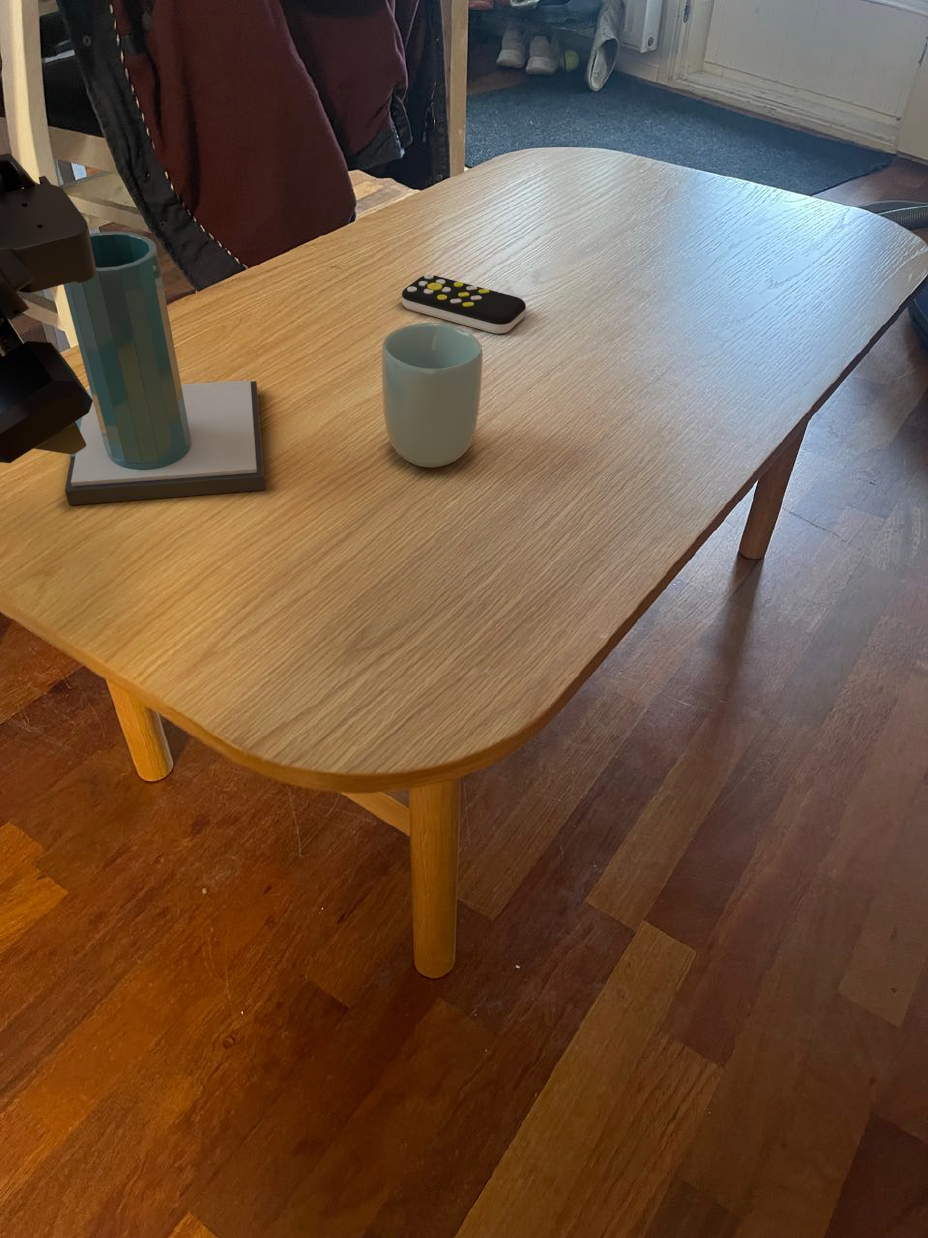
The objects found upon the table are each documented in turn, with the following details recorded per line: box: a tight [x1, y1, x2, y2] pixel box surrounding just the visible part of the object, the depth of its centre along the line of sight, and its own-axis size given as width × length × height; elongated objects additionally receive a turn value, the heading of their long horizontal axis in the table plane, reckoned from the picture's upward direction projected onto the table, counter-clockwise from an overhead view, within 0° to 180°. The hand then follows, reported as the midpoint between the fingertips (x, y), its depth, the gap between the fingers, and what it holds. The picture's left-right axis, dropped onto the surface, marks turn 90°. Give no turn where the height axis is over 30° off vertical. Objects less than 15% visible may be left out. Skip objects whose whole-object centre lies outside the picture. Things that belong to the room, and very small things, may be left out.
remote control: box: [401, 273, 527, 334], centre depth 100 cm, size 6×13×2 cm, turn 63°
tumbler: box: [62, 231, 191, 470], centre depth 71 cm, size 7×7×16 cm
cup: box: [381, 322, 484, 468], centre depth 77 cm, size 8×8×10 cm
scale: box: [64, 379, 266, 506], centre depth 79 cm, size 15×15×2 cm
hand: (49, 401), depth 62 cm, fingers open, 9 cm apart
